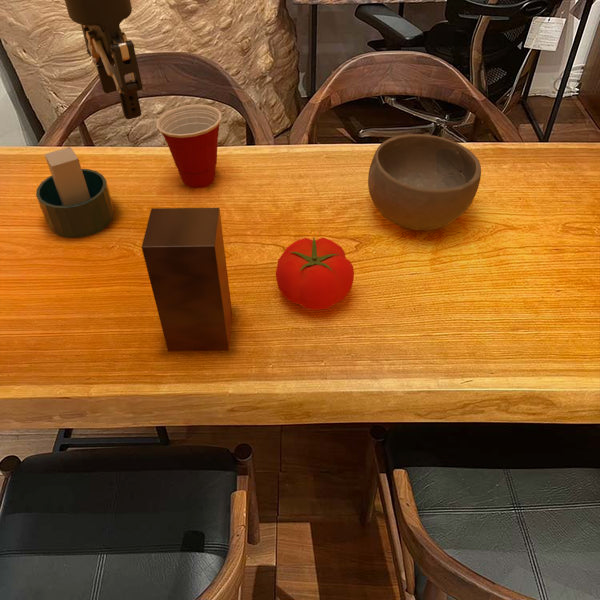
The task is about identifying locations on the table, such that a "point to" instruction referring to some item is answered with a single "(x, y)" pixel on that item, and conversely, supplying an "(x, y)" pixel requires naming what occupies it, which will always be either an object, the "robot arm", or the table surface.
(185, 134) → the plastic cup
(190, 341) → the pedestal
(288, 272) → the tomato
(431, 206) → the bowl
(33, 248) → the table surface
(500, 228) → the table surface
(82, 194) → the block
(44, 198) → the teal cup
